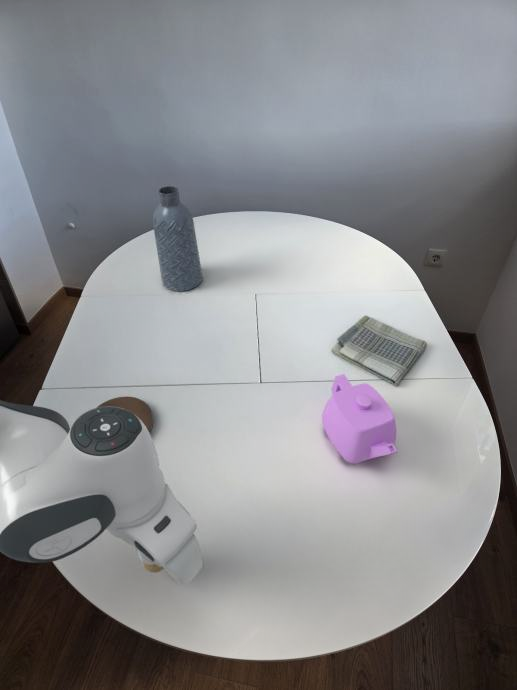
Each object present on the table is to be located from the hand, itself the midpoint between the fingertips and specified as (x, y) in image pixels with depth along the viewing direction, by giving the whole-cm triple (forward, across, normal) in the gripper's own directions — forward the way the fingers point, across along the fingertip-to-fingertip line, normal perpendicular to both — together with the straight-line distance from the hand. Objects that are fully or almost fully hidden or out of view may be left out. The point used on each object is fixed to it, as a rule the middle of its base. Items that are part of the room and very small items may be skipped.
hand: (151, 545), depth 66 cm
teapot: (+7, +13, +42) cm, 44 cm away
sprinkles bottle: (+5, 0, 0) cm, 5 cm away
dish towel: (+7, +4, +69) cm, 69 cm away
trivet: (+8, -28, +14) cm, 32 cm away
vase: (+7, -57, +59) cm, 83 cm away
